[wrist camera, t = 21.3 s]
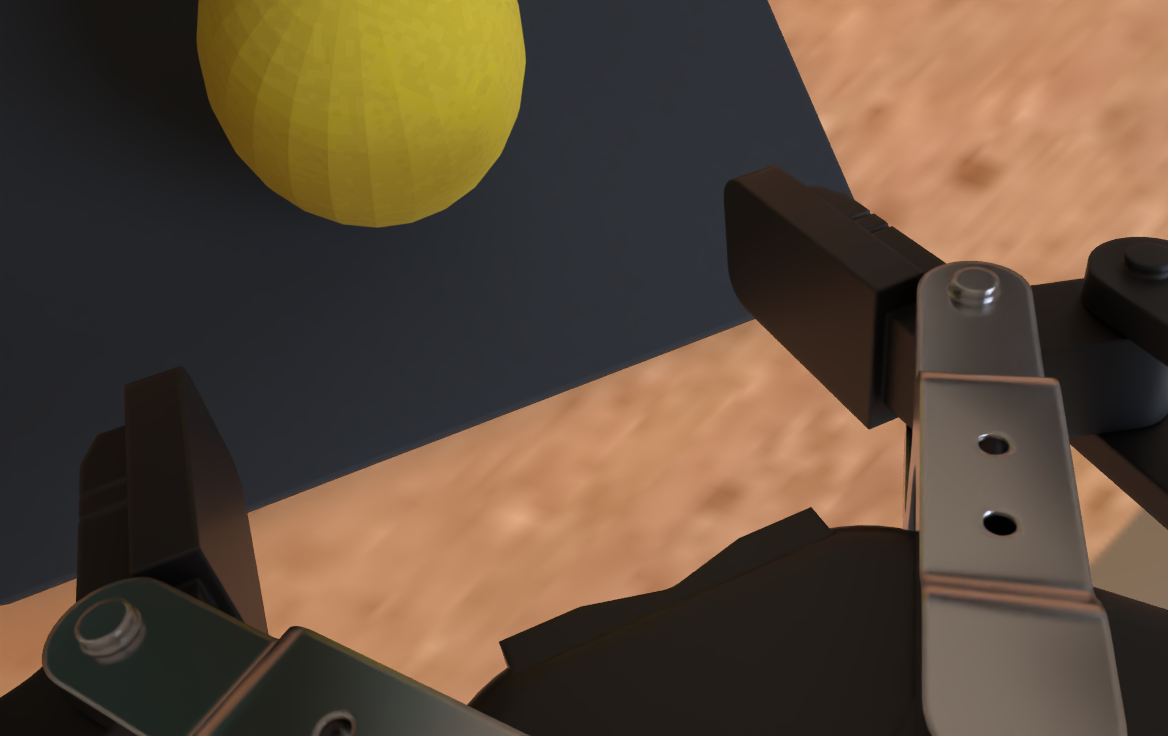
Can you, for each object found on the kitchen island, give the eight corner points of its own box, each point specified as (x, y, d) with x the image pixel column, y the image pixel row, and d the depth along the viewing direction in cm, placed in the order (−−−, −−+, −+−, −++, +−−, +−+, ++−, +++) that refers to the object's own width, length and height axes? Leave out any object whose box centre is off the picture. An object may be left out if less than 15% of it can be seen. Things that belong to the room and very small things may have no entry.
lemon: (239, 269, 20) (124, 105, 12) (250, 21, 21) (150, -277, 13) (505, 276, 21) (555, 128, 13) (505, 39, 22) (552, -231, 14)
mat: (665, -196, 24) (673, -220, 24) (869, 275, 23) (885, 266, 23) (-190, 18, 20) (-215, -3, 20) (5, 605, 19) (-12, 608, 18)
